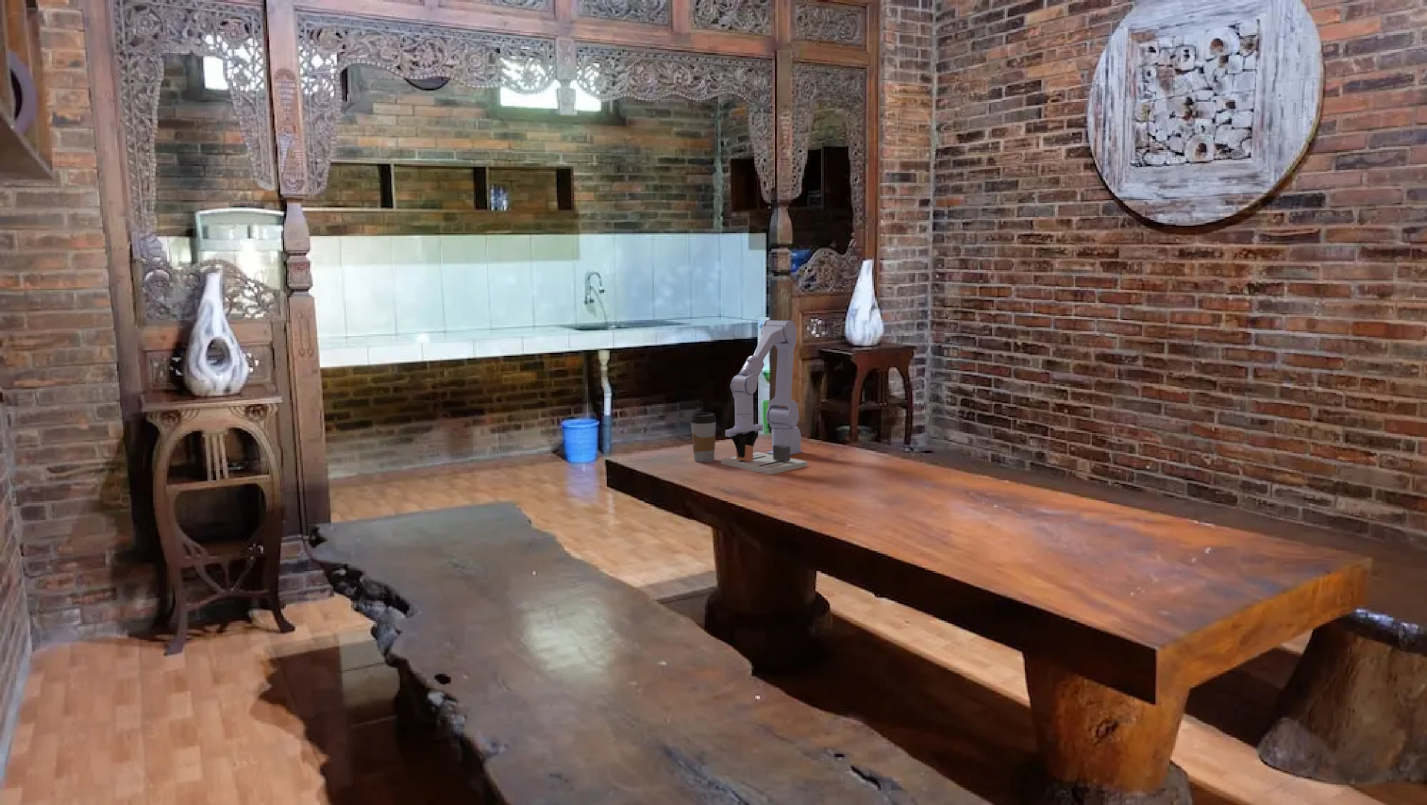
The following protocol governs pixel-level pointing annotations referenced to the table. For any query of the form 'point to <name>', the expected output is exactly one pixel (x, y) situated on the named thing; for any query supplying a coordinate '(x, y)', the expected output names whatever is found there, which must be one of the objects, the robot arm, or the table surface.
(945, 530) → the table surface
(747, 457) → the block
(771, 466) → the mixer plate
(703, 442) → the coffee cup
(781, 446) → the fader
